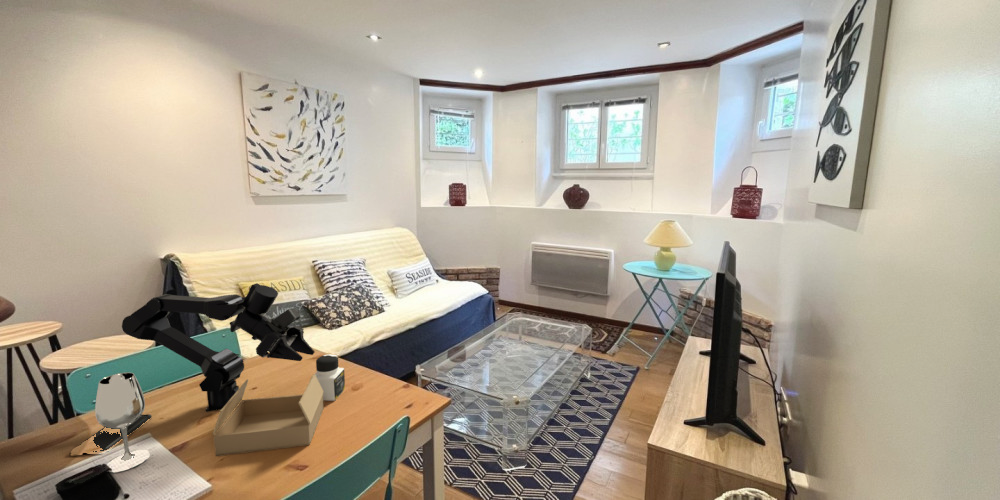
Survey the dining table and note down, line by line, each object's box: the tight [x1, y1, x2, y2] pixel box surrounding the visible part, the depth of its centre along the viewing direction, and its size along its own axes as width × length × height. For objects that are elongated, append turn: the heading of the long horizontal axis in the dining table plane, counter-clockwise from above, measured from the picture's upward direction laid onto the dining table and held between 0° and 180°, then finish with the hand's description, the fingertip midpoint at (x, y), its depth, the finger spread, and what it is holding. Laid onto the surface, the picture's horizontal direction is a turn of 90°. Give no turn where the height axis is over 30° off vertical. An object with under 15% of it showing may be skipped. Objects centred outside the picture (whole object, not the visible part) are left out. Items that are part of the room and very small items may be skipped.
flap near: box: [212, 378, 249, 436], centre depth 96 cm, size 6×15×1 cm
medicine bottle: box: [310, 353, 346, 402], centre depth 116 cm, size 7×7×12 cm
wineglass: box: [94, 371, 146, 461], centre depth 86 cm, size 8×8×20 cm
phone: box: [84, 413, 152, 452], centre depth 96 cm, size 8×1×15 cm
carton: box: [213, 393, 324, 457], centre depth 99 cm, size 20×16×5 cm
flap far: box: [298, 373, 323, 424], centre depth 100 cm, size 6×15×1 cm
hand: (307, 356), depth 108 cm, fingers open, 9 cm apart
